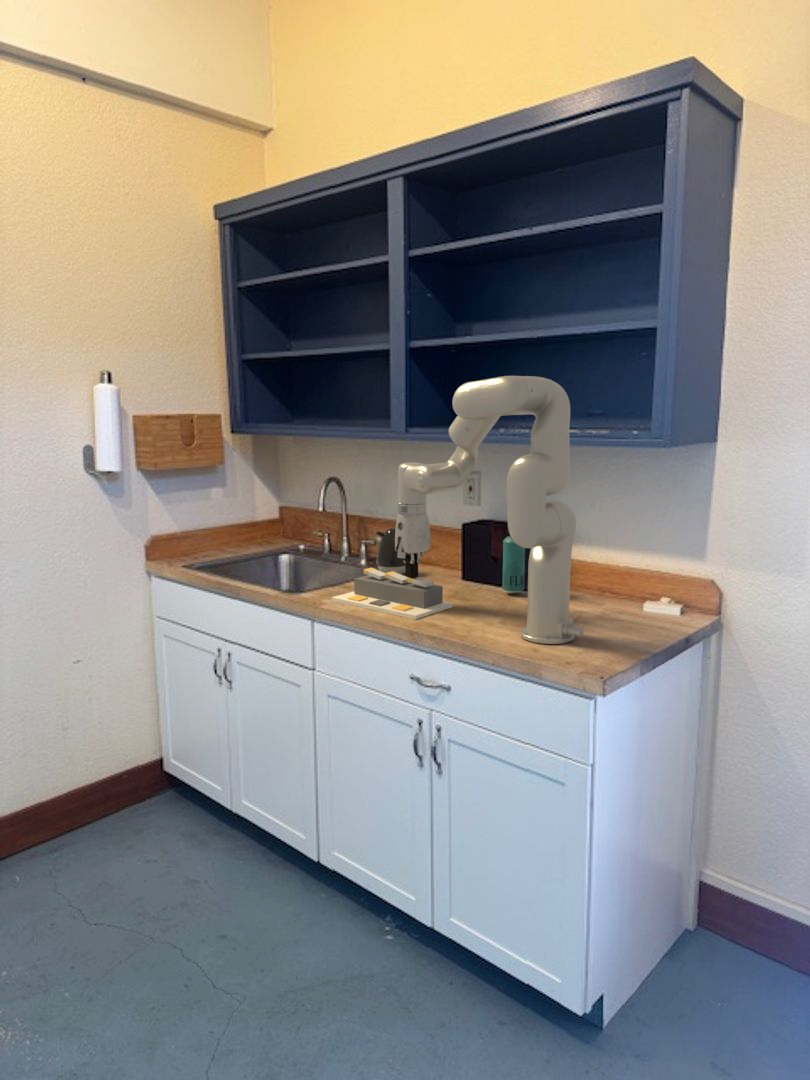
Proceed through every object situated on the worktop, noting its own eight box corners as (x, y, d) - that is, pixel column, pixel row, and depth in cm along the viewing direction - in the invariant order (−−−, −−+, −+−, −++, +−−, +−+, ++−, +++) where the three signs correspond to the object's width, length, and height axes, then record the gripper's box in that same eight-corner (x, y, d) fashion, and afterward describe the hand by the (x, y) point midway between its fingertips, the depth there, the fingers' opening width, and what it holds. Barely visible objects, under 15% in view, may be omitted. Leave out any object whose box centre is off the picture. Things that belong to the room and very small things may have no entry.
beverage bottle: (507, 597, 212) (508, 527, 209) (498, 592, 219) (499, 523, 215) (528, 596, 214) (530, 526, 211) (518, 590, 220) (520, 522, 217)
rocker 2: (433, 585, 201) (433, 581, 201) (425, 587, 199) (425, 583, 199) (414, 579, 205) (414, 575, 205) (406, 581, 203) (407, 577, 203)
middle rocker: (409, 581, 207) (410, 578, 206) (401, 583, 204) (402, 580, 204) (392, 574, 210) (392, 571, 210) (384, 576, 208) (384, 573, 208)
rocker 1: (387, 577, 212) (388, 574, 211) (379, 579, 209) (380, 576, 209) (371, 570, 215) (371, 567, 215) (363, 572, 213) (363, 569, 213)
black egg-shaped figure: (372, 572, 246) (371, 526, 243) (402, 570, 249) (402, 524, 246) (381, 579, 236) (380, 531, 234) (412, 576, 240) (412, 529, 237)
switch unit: (453, 606, 203) (453, 586, 202) (415, 619, 191) (415, 598, 190) (370, 590, 222) (370, 571, 221) (331, 600, 210) (331, 581, 209)
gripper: (404, 514, 192) (404, 584, 196) (440, 508, 204) (439, 574, 207) (382, 511, 197) (382, 579, 200) (418, 505, 208) (418, 570, 212)
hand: (411, 576), depth 204 cm, fingers closed
